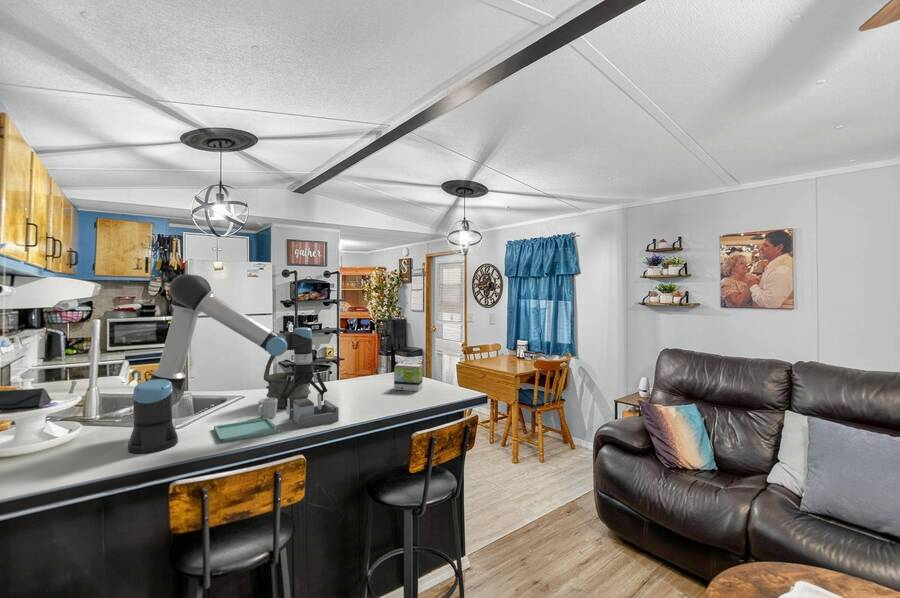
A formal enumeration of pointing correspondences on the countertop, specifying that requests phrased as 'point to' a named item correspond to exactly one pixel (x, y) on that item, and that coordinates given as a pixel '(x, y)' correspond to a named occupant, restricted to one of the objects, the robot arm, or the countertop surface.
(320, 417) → the tray
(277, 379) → the dark handled basket
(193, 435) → the countertop surface
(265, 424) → the tray
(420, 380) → the tea box
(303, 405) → the block
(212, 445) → the countertop surface
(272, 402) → the cup
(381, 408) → the countertop surface
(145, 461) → the countertop surface
